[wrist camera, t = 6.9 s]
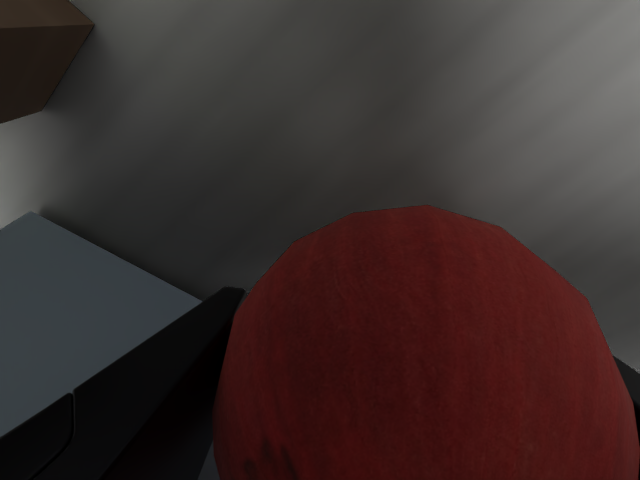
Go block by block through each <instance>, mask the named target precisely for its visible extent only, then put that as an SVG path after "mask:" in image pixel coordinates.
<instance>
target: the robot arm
mask: <svg viewBox="0 0 640 480" xmlns="http://www.w3.org/2000/svg"><path fill="white" fill-rule="evenodd" d="M246 297H247V292H246V290H245V289H243V288H236V287H224V288H222V289H220V290H219V291H218V292H216V293H215V294H213V295H212V296H210V297H209V298H207V299H206V300H204V301H203V302H201V303H200V304H198V305H197V306H195V307H194V308H192V309H191V310H189V311H188V312H186V313H185V314H184V315H182V316H181V317H179V318H178V319H176V320H175V321H173V322H172V323H170V324H169V325H167V326H166V327H164V328H163V329H161V330H160V331H158V332H157V333H155V334H154V335H152V336H151V337H150V338H148V339H147V340H145V341H144V342H142V343H141V344H139V345H138V346H136V347H135V348H133V349H132V350H130V351H129V352H127V353H126V354H124V355H123V356H121V357H120V358H118V359H117V360H116V361H114V362H113V363H111V364H110V365H108V366H107V367H105V368H104V369H102V370H101V371H99V372H98V373H96V374H95V375H93V376H92V377H90V378H89V379H87V380H86V381H84V382H83V383H82V384H80V385H79V386H77V387H76V388H74V389H73V391H72V393H66V394H65V395H63V396H62V397H61V398H59V399H58V400H56V401H55V402H53V403H52V404H50V405H49V406H47V407H46V408H44V409H43V410H41V411H40V412H38V413H36V414H35V415H33V416H32V417H30V418H29V419H27V420H26V421H24V422H23V423H21V424H19V425H18V426H16V427H15V428H13V429H12V430H10V431H9V432H7V433H5V434H4V435H2V436H0V480H198V477H199V475H200V472H201V470H202V467H203V465H204V462H205V459H206V457H207V454H208V452H209V449H210V447H211V444H212V441H213V420H212V409H213V405H214V400H215V396H216V391H217V387H218V382H219V378H220V373H221V369H222V365H223V360H224V356H225V352H226V348H227V344H228V340H229V336H230V332H231V328H232V324H233V320H234V316H235V313H236V312H237V310H238V309H239V307H240V306H241V305H242V303H243V302H244V300H245V299H246ZM612 356H613V355H612ZM613 358H614V360H615V363H616V365H617V367H618V370H619V372H620V374H621V376H622V379H623V381H624V383H625V386H626V388H627V390H628V392H629V395H630V397H631V399H632V402H633V405H634V412H635V419H636V426H637V432H638V439H639V446H640V374H639V373H638V372H637V371H635V370H634V369H632V368H631V367H629V366H628V365H626V364H625V363H623V362H622V361H620V360H619V359H617V358H616V357H615V356H613ZM638 480H640V459H639V473H638Z"/></svg>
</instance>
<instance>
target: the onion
mask: <svg viewBox="0 0 640 480" xmlns="http://www.w3.org/2000/svg"><path fill="white" fill-rule="evenodd" d="M212 420H213V449H214V458H215V462H216V466H217V470H218V474H219V477H220V480H638V473H639V459H640V446H639V439H638V432H637V426H636V419H635V412H634V405H633V402H632V399H631V397H630V395H629V392H628V390H627V388H626V386H625V383H624V381H623V379H622V376H621V374H620V372H619V370H618V367H617V365H616V363H615V360H614V358H613V356H612V354H611V351H610V349H609V347H608V344H607V342H606V340H605V338H604V335H603V333H602V331H601V329H600V326H599V324H598V322H597V320H596V317H595V315H594V313H593V311H592V308H591V306H590V304H589V302H588V299H587V298H586V297H585V296H584V295H583V294H581V293H580V292H579V291H578V290H577V289H576V288H575V287H573V286H572V285H571V284H570V283H569V282H568V281H567V280H565V279H564V278H563V277H562V276H561V275H560V274H559V273H557V272H556V271H555V270H554V269H553V268H551V267H550V266H549V265H548V264H546V263H545V262H544V261H543V260H541V259H540V258H539V257H538V256H536V255H535V254H534V253H533V252H531V251H530V250H529V249H528V248H526V247H525V246H524V245H523V244H521V243H520V242H519V241H518V240H516V239H515V238H514V237H513V236H511V235H510V234H509V233H508V232H506V231H505V230H504V229H503V228H501V227H499V226H496V225H492V224H489V223H486V222H482V221H479V220H476V219H472V218H469V217H466V216H463V215H459V214H456V213H453V212H449V211H446V210H443V209H439V208H436V207H433V206H429V205H422V206H412V207H403V208H394V209H384V210H375V211H365V212H356V213H352V214H350V215H348V216H345V217H343V218H341V219H339V220H337V221H335V222H333V223H331V224H329V225H327V226H325V227H323V228H321V229H319V230H317V231H315V232H313V233H311V234H309V235H307V236H305V237H303V238H301V239H299V240H296V241H294V242H293V244H292V245H291V246H290V247H289V248H288V249H287V250H286V251H285V252H284V253H283V254H282V256H281V257H280V258H279V259H278V260H277V261H276V262H275V263H274V264H273V265H272V266H271V267H270V269H269V270H268V271H267V272H266V273H265V274H264V275H263V276H262V277H261V278H260V279H259V281H258V282H257V283H256V284H255V286H254V287H253V289H252V290H251V291H250V293H249V294H248V296H247V297H246V299H245V300H244V302H243V303H242V305H241V306H240V307H239V309H238V310H237V312H236V313H235V316H234V320H233V324H232V328H231V332H230V336H229V340H228V344H227V348H226V352H225V356H224V360H223V365H222V369H221V373H220V378H219V382H218V387H217V391H216V396H215V400H214V405H213V409H212Z"/></svg>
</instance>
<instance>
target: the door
mask: <svg viewBox="0 0 640 480" xmlns="http://www.w3.org/2000/svg"><path fill="white" fill-rule="evenodd" d="M201 302H203V301H201V300H199V299H197V298H195V297H193V296H191V295H189V294H188V293H186V292H184V291H182V290H180V289H178V288H176V287H174V286H172V285H170V284H169V283H167V282H165V281H163V280H161V279H159V278H157V277H155V276H153V275H151V274H150V273H148V272H146V271H144V270H142V269H140V268H138V267H136V266H134V265H132V264H131V263H129V262H127V261H125V260H123V259H121V258H119V257H117V256H115V255H114V254H112V253H110V252H108V251H106V250H104V249H102V248H100V247H98V246H96V245H95V244H93V243H91V242H89V241H87V240H85V239H83V238H81V237H79V236H77V235H76V234H74V233H72V232H70V231H68V230H66V229H64V228H62V227H60V226H58V225H57V224H55V223H53V222H51V221H49V220H47V219H45V218H43V217H41V216H39V215H38V214H36V213H34V212H32V211H30V212H28V213H26V214H25V215H23V216H22V217H20V218H18V219H17V220H15V221H13V222H12V223H10V224H9V225H7V226H5V227H4V228H2V229H1V230H0V436H2V435H4V434H5V433H7V432H9V431H10V430H12V429H13V428H15V427H16V426H18V425H19V424H21V423H23V422H24V421H26V420H27V419H29V418H30V417H32V416H33V415H35V414H36V413H38V412H40V411H41V410H43V409H44V408H46V407H47V406H49V405H50V404H52V403H53V402H55V401H56V400H58V399H59V398H61V397H62V396H63V395H65V394H66V393H72V391H73V389H74V388H76V387H77V386H79V385H80V384H82V383H83V382H84V381H86V380H87V379H89V378H90V377H92V376H93V375H95V374H96V373H98V372H99V371H101V370H102V369H104V368H105V367H107V366H108V365H110V364H111V363H113V362H114V361H116V360H117V359H118V358H120V357H121V356H123V355H124V354H126V353H127V352H129V351H130V350H132V349H133V348H135V347H136V346H138V345H139V344H141V343H142V342H144V341H145V340H147V339H148V338H150V337H151V336H152V335H154V334H155V333H157V332H158V331H160V330H161V329H163V328H164V327H166V326H167V325H169V324H170V323H172V322H173V321H175V320H176V319H178V318H179V317H181V316H182V315H184V314H185V313H186V312H188V311H189V310H191V309H192V308H194V307H195V306H197V305H198V304H200V303H201ZM198 480H220V477H219V474H218V470H217V466H216V462H215V458H214V449H213V441H212V444H211V447H210V449H209V452H208V454H207V457H206V459H205V462H204V465H203V467H202V470H201V472H200V475H199V477H198Z"/></svg>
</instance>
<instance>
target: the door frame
mask: <svg viewBox="0 0 640 480" xmlns="http://www.w3.org/2000/svg"><path fill="white" fill-rule="evenodd" d="M93 26H94V23H92V22H91V21H90V20H89V19H88V18H87V17H86V16H85V15H84V14H82V13H81V12H80V11H79V10H78V9H77V8H76V7H75V6H74V5H72V4H71V3H70V2H69V1H68V0H0V124H1V123H4V122H7V121H11V120H14V119H17V118H20V117H23V116H26V115H30V114H33V113H36V112H39V111H41V110H42V109H43V107H44V106H45V104H46V102H47V101H48V99H49V97H50V96H51V94H52V93H53V91H54V89H55V88H56V86H57V84H58V83H59V81H60V79H61V78H62V76H63V75H64V73H65V71H66V70H67V68H68V66H69V65H70V63H71V62H72V60H73V58H74V57H75V55H76V53H77V52H78V50H79V49H80V47H81V45H82V44H83V42H84V40H85V39H86V37H87V36H88V34H89V32H90V31H91V29H92V27H93Z"/></svg>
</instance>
